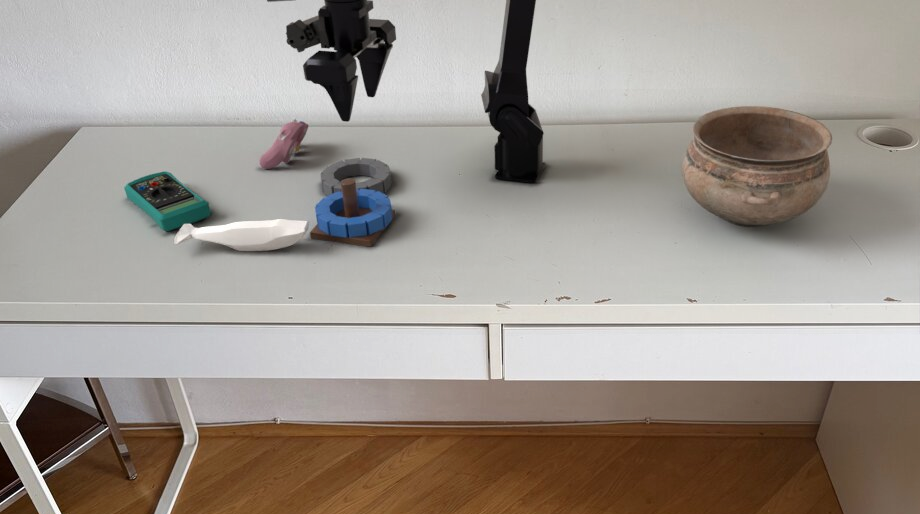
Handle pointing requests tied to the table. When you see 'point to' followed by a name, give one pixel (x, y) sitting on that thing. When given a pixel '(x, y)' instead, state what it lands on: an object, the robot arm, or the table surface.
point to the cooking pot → (757, 164)
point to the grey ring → (353, 168)
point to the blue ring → (355, 224)
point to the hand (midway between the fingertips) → (358, 108)
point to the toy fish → (248, 234)
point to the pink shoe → (284, 144)
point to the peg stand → (349, 211)
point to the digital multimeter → (167, 200)
